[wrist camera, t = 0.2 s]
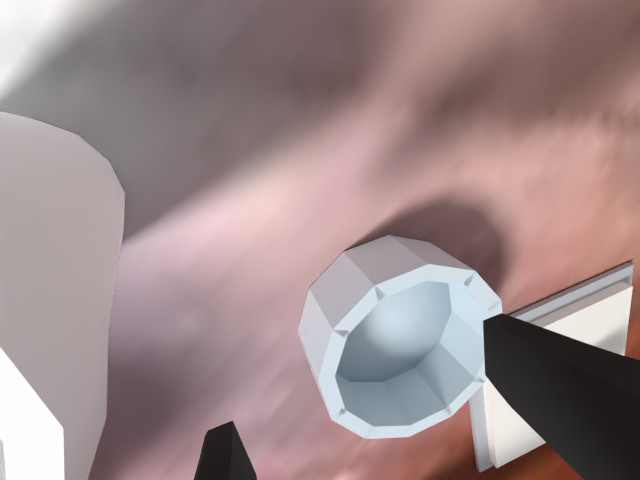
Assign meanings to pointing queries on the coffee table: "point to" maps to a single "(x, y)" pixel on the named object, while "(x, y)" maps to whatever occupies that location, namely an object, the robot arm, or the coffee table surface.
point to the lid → (572, 321)
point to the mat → (529, 315)
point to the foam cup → (54, 298)
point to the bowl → (396, 336)
